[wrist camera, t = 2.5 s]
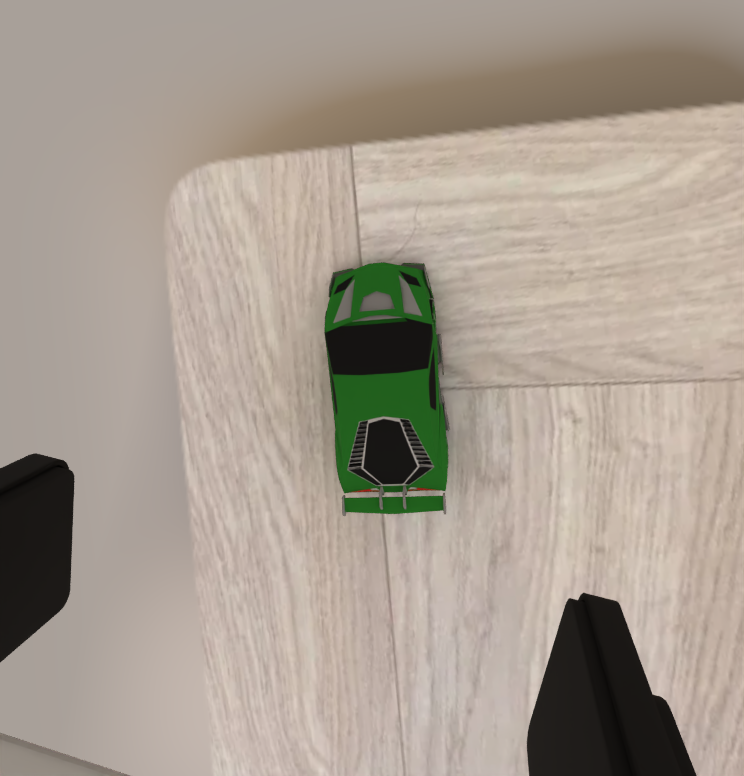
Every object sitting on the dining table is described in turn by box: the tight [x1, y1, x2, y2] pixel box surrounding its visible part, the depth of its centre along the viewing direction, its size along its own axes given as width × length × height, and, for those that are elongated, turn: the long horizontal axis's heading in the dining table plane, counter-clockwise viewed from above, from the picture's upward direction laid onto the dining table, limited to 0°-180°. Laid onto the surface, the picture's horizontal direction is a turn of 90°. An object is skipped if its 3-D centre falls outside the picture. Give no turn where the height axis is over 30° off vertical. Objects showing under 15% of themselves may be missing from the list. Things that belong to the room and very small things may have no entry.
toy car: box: [325, 262, 450, 516], centre depth 24 cm, size 10×5×2 cm, turn 6°
